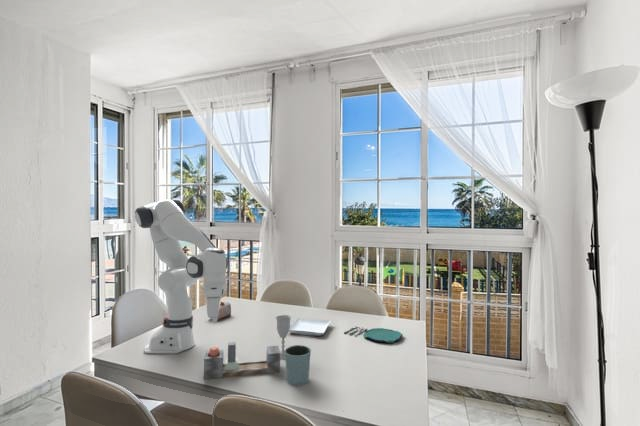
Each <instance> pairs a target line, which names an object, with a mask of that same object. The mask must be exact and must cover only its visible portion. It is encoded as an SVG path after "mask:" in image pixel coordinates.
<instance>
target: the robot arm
mask: <svg viewBox="0 0 640 426" xmlns="http://www.w3.org/2000/svg"><path fill="white" fill-rule="evenodd" d="M134 219H135V222H136V224H137V225H138V226H139V227H140V228H142V229H149V232H150V233H149V234H150V237H151V241H152V243H153V246H154V248H155V252H156V254H157V256H158V258H159V260H160V261H161V262H163V263H164V264H166V266H167V267H168V269H166V270H164V271H163V272H162V273H160V274H159V275H158V279H157V285H158V287H159V289H160V290H161V291H162V292H164V295H165V298H166V301H167V302H166V303H167V304H166V305H167V315H165V316H164V318H163V320H162V326H161V327H159V329H157V330H155V332H153V333H152V334H151V337H150V340H149V342H148V343H147V344H146V345H145V346H144V348H143V349H144V350H143V351H144V354H179V353H182V352H184V351H186V350H190V349H191V348H193V347H195V345H196V342H195V339H194V332H193V327H194V318H193V317H194V316H193V299H192V298H191V297H190V296H189V294H188V291H187V289H188V287H190V286H193V285H194V284H196V283H197V282H198V281H199V279H203V294H204V298H205V299H206V300H205V301H206V313H207V318H208V319H209V318H210V319H211V318H212V319H211V323H212V324H216V323H218V322H217V321H218V320H217V317H218V312H219V308H220V304H221V302H222V297H223V296H224V294H225V293H227V276H226V273H227V269H228V267H229V261H228V257H227V256H226V252H225V250H224V249H222V248H220V247H216V245H214V243H213V242H212V241H211V239H210V238H209V237H208V236H207V235H206V234H205V233H204V232H203V231H202V229H200V228H199V227H198V226H196V225H195V224H193V223H192V222H191V220H189V218H187V216H186V214H185V207H184V203H183V201H181V200H180V199H179V198H169V199H163V200H158V201H156V202H152V203H149V204H146V205H141V206H139V207H137V208H136V209H135V210H134ZM180 241H181V242H185V243H190V244H193V245H194V246H196V247H197V248H198V249H199V251H200V253H198V254H196V255H195V254H194V255H192V256H190V257H188V256H187V255H186V253H185V251H184V250H183V248H182V245H181V243H180Z"/></svg>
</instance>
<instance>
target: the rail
mask: <svg viewBox="0 0 640 426" xmlns="http://www.w3.org/2000/svg"><path fill="white" fill-rule="evenodd" d="M280 351H281V350H280V347H279V345H271V346H270V345H268V346H266V360H259V361H258V360H257V361H246V362H245V361H244V362H238V370H232V371H225V363H224V349H219V356H212V357H209V350H205V354H204V359H203V380H209V379H210V380H211V379H212V380H213V379H220V378H226V377H227V378H228V377H239V376H248V375H250V376H251V375H259V374H275V373H276V374H277V373H279V374H280V373H281V359H280Z"/></svg>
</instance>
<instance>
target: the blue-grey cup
mask: <svg viewBox="0 0 640 426" xmlns="http://www.w3.org/2000/svg"><path fill="white" fill-rule="evenodd" d="M284 350H285V357H286V359H285V369H286V382H287V383H288V384H289V385H291V386H303V385H306V384H307V383H308V382H309V377H310V375H309V373H310V362H311V354H312V353H311V352H312V350H311V348H310V347H309V346H307V345H302V344H301V345H300V344H294V345H291V346H288V347H287V348H285V349H284Z"/></svg>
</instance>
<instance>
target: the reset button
mask: <svg viewBox="0 0 640 426" xmlns="http://www.w3.org/2000/svg"><path fill="white" fill-rule="evenodd" d="M219 350H220V348H219V347H217V346H216V347H215V346H213V347H211V348H209V350H208V351H209V357H212V356H219Z"/></svg>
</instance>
